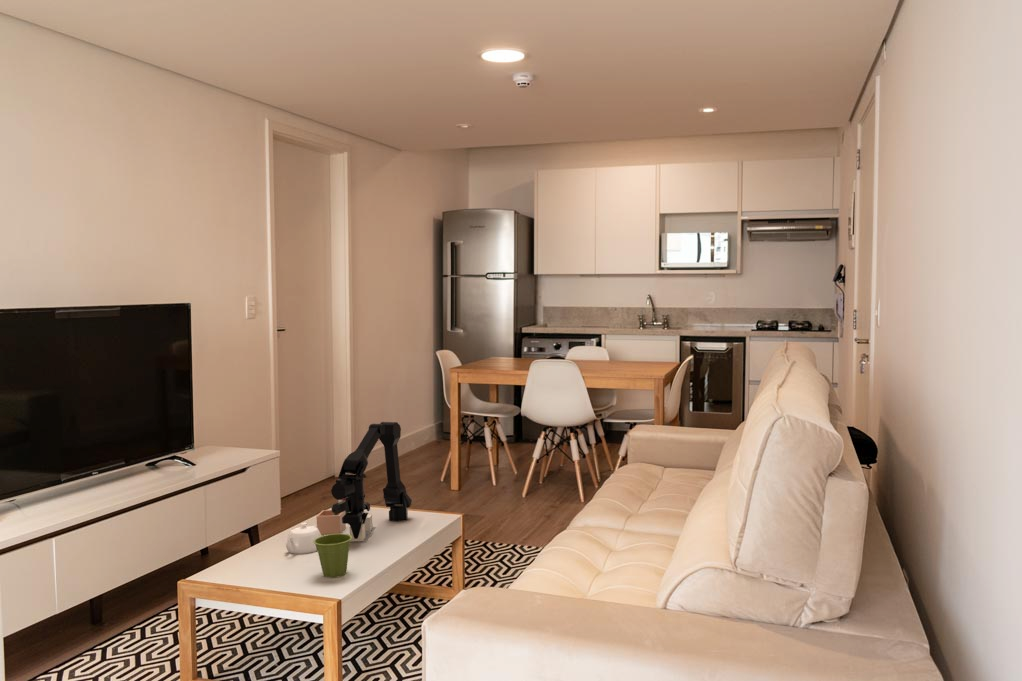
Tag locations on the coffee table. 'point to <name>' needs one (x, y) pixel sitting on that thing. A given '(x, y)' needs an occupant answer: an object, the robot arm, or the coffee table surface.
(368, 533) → the slate board
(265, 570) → the coffee table surface
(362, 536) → the block
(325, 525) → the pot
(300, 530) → the teapot
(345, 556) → the plant pot
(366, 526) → the block
